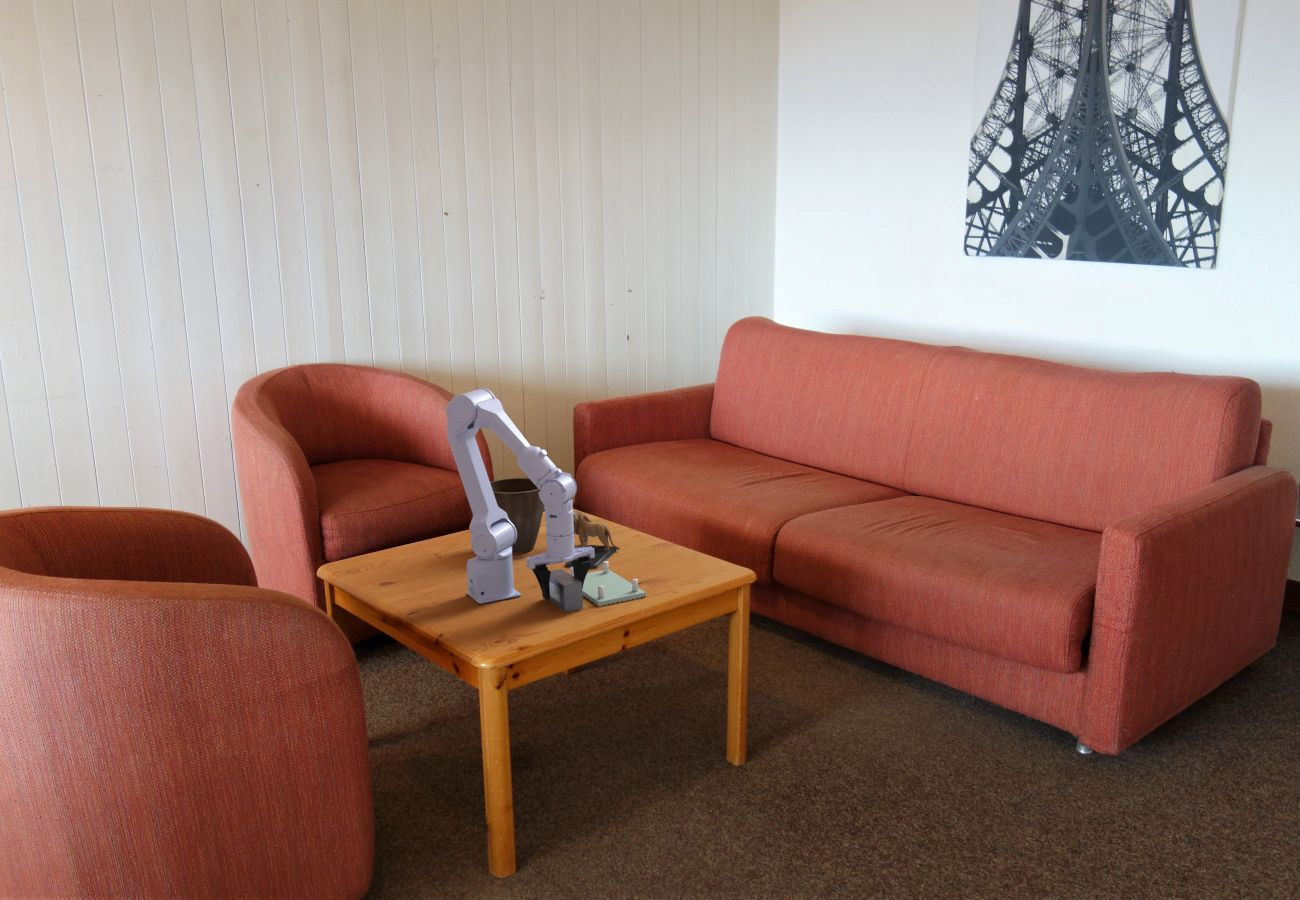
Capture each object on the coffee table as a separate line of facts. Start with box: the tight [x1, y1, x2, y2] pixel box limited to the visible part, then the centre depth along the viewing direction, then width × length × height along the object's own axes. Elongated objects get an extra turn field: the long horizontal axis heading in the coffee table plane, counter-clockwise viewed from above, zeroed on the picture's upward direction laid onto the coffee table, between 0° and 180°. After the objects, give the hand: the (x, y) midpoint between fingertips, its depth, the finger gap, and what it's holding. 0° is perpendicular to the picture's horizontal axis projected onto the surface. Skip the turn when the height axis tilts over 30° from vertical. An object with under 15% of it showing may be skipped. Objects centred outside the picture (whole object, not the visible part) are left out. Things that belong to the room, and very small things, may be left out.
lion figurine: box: [573, 509, 621, 551], centre depth 267 cm, size 15×5×9 cm, turn 64°
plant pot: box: [490, 477, 545, 554], centre depth 267 cm, size 15×15×16 cm
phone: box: [565, 544, 617, 570], centre depth 260 cm, size 8×1×15 cm
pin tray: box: [569, 560, 647, 607], centre depth 239 cm, size 11×18×4 cm, turn 28°
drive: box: [547, 568, 584, 614], centre depth 230 cm, size 4×10×6 cm, turn 29°
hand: (562, 595), depth 231 cm, fingers open, 7 cm apart
